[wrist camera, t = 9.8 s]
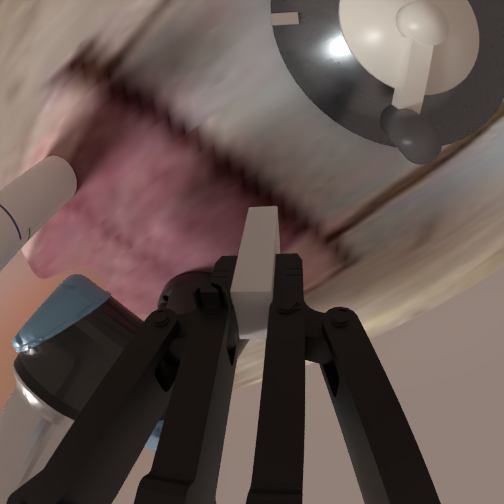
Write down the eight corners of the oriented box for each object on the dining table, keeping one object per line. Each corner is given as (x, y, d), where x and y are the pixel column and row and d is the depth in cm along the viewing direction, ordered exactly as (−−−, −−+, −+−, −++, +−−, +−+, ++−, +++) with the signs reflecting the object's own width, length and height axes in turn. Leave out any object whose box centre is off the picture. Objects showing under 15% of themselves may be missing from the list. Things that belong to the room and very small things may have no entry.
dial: (344, -57, 16) (360, -85, 10) (479, -8, 16) (522, -12, 10) (321, 120, 28) (329, 144, 22) (448, 151, 27) (482, 183, 21)
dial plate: (497, 151, 28) (506, 159, 26) (284, 141, 32) (283, 148, 30) (493, -49, 12) (503, -52, 11) (257, -84, 17) (254, -92, 15)
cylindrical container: (73, 156, 35) (-66, 283, 16) (80, 203, 40) (-33, 337, 20) (36, 154, 36) (-93, 265, 16) (44, 198, 40) (-65, 316, 20)
